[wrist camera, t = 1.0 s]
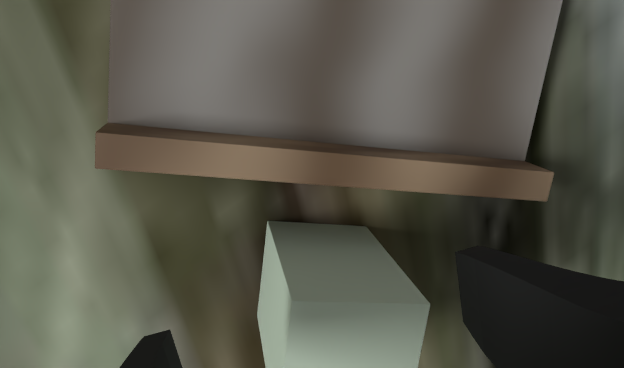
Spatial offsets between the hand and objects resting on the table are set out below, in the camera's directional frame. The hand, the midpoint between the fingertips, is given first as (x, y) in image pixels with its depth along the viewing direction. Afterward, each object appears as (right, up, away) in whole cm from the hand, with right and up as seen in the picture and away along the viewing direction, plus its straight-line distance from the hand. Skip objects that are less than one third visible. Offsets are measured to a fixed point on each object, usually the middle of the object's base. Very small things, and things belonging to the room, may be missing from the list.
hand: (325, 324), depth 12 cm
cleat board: (+1, +10, +8) cm, 12 cm away
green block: (0, 0, +10) cm, 10 cm away
